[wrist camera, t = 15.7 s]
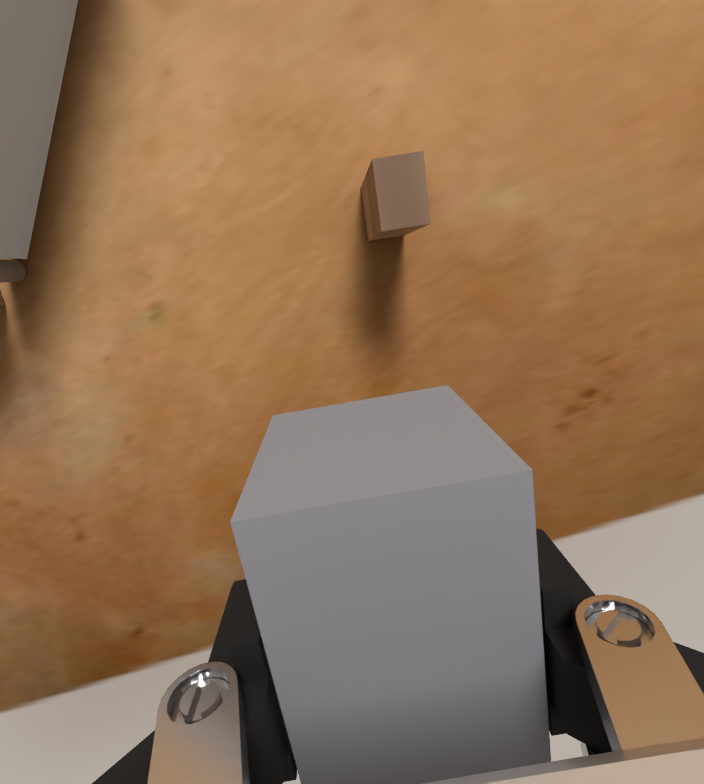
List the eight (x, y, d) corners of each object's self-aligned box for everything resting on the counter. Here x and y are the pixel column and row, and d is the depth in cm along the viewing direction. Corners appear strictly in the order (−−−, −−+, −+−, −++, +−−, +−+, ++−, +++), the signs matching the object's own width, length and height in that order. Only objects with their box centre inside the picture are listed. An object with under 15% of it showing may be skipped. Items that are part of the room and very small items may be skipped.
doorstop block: (447, 384, 11) (531, 469, 7) (476, 638, 14) (555, 842, 9) (272, 415, 11) (230, 522, 7) (328, 664, 14) (327, 881, 9)
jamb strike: (397, 182, 21) (423, 151, 16) (404, 235, 22) (430, 223, 16) (360, 188, 21) (372, 159, 16) (367, 241, 22) (381, 231, 16)
